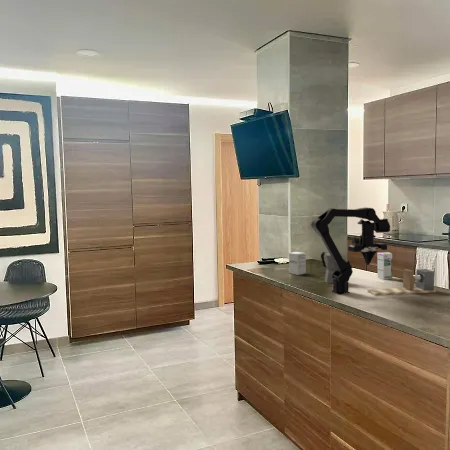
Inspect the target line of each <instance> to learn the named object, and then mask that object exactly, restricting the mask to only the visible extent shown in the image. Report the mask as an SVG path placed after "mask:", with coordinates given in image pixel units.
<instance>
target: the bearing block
mask: <svg viewBox="0 0 450 450" xmlns="http://www.w3.org/2000/svg"><path fill="white" fill-rule="evenodd" d="M415 271H416V275H423V279H422V281H415V282H416V283H415V285H416V286H415V287H416V288H419V289H421V290H424V291H426V290H435V271H434V270H430V269H428V268H422V269H421V268H419V269H416V270H415Z"/></svg>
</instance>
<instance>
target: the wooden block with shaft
mask: <svg viewBox="0 0 450 450" xmlns="http://www.w3.org/2000/svg"><path fill="white" fill-rule="evenodd" d="M402 269H403V270H402V271H403V272H402V273H403V274H402V275H403V278H402V280H403V282H402V283H403V285H402V288H406V289H408V290H414V287H415V286H414V284H415V282H416V281H422V279H423V275H415V273H414V270H411V269H409V268H402Z"/></svg>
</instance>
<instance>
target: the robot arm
mask: <svg viewBox="0 0 450 450" xmlns="http://www.w3.org/2000/svg"><path fill="white" fill-rule="evenodd" d="M335 217H336V218H337V217H339V218H340V217H341V218H342V217H343V218H344V217H346V218H358V219H360V220H359V221H357V224H358V225H361V234H360V235H359V238H357V237H351V244H349V245H348V247H347V251H348V252H353V253H361V254H362V256H363V259H364V261H365V265H367V266H369V265H370V264H371V262H372V260H373V258H374V256H375V255H376V253H378V249H381V250H382V251H387V250H388V245H387V244H386V243H382V242H375V239H376V238H377V235H375V233H377V234H378V233H379V234H381V233H385V234H386V233H389V232H390V231H391V225H390V221H389V218H381V219H380V217H379V216H378V215H377V211H376V210H375V209H374V208H372V207H360V208H356V209H354V208H353V209H349V208H348V209H347V208H346V209H344V208H328V209H327V210H325V211H324V212H323V213H322V214H320V215H319V216H318V217H316V218H314V219H313V220H312V221H311V224H310V226H311V228H312V229H313V230H314V232H315V233H316V234H317V235H318V236H319V237H320V239H321V240H322V242H323V243H324V246H325V248H326V249H327V252H328V253H330V255H331V257H332V259H333V260H334V265H335V269H336V270H335V272H334V273H333V274H332V278H333V279H335V280H333V283H332V284H333V285H332V286H333V287H332V289H331V292H332V293H335V294H337V295H342V294H350V290H349V289H350V288H349V282H350V278H351V277H352V276H353V272H354V271H353V267H352V265H351V263H350V261H349V260H347V259H345V258H343V257H342V256H343V255H342V256H341V253H340V251H339V249H338V247H337V245H336V243H335V242H334V240H333V238H332V236H331V234H330V227H329V225H330V224H331V222H332V221H333V219H335ZM376 249H377V250H376Z"/></svg>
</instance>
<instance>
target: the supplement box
mask: <svg viewBox="0 0 450 450" xmlns="http://www.w3.org/2000/svg"><path fill="white" fill-rule="evenodd" d="M306 260H307V255H306V252H302V251H292V252H288V273H289V274H292V275H295V276H296V275H297V276H299V275H304V274H307V272H306V270H307V269H306V268H307V267H306V265H307V263H306V262H307V261H306Z"/></svg>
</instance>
